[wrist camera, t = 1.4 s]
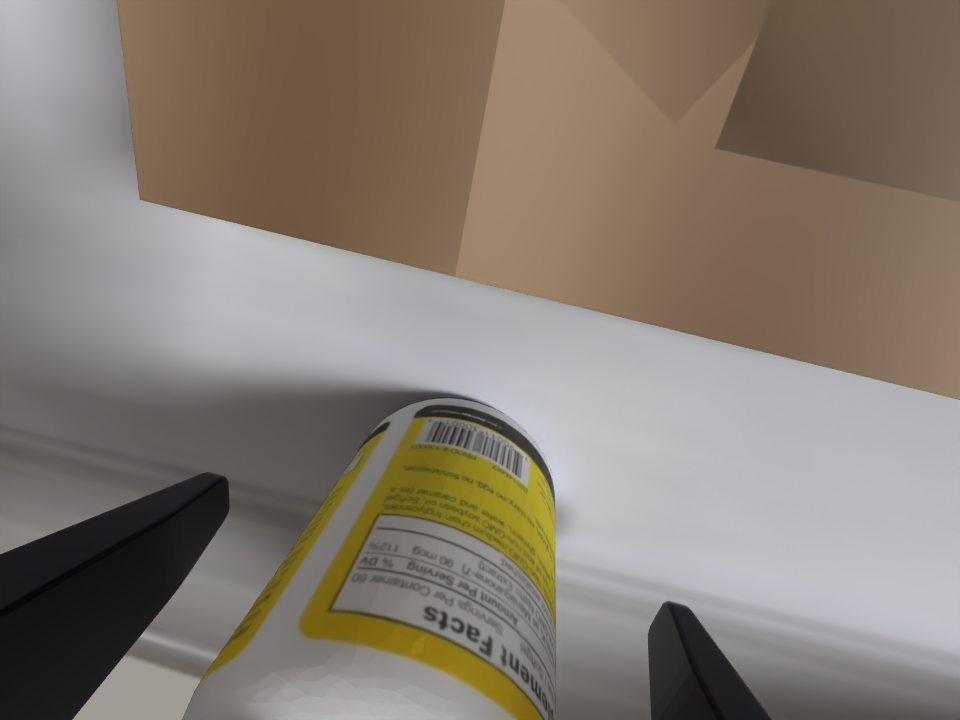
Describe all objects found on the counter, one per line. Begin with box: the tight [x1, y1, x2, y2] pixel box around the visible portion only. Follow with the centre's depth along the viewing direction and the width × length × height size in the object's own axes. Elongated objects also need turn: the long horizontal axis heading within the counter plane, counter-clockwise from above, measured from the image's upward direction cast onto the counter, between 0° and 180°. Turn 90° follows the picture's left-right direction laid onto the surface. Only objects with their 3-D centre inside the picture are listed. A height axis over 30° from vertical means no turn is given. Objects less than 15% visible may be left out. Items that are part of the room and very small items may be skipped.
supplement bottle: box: [182, 398, 556, 720], centre depth 7 cm, size 5×5×8 cm
